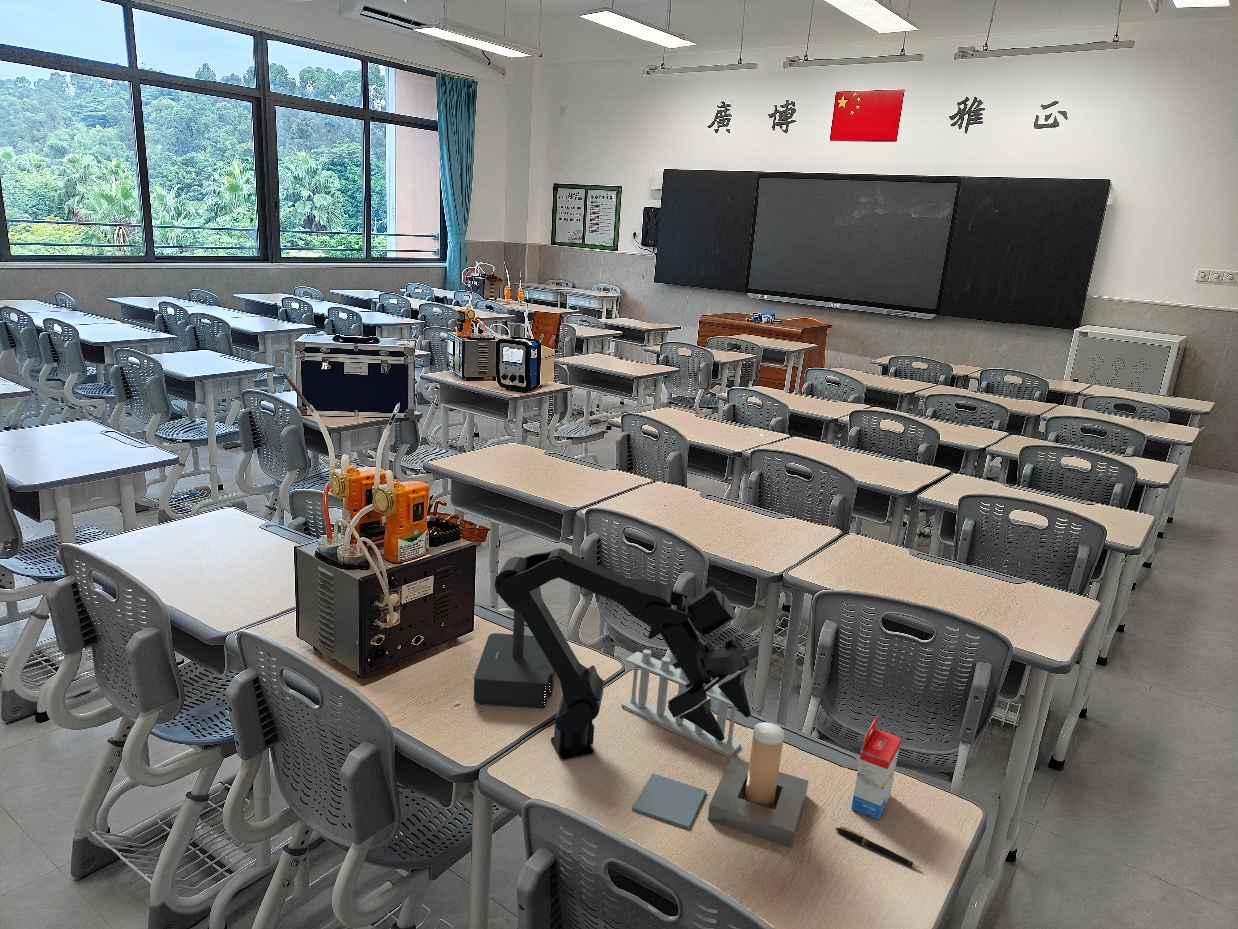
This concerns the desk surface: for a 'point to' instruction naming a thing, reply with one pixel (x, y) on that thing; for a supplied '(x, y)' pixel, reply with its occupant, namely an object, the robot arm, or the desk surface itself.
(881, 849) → the fountain pen
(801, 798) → the bore housing
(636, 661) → the test tube rack
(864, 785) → the ink box
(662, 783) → the slate mat
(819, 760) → the desk surface
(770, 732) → the tan peg
